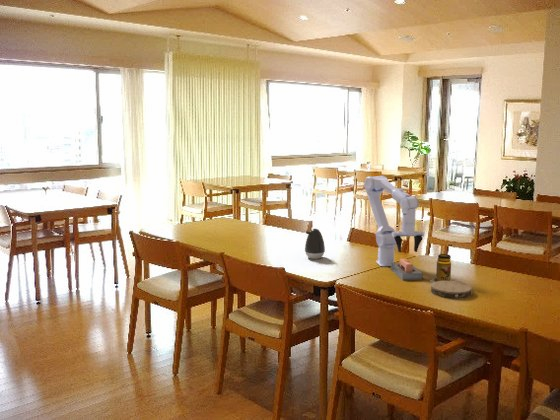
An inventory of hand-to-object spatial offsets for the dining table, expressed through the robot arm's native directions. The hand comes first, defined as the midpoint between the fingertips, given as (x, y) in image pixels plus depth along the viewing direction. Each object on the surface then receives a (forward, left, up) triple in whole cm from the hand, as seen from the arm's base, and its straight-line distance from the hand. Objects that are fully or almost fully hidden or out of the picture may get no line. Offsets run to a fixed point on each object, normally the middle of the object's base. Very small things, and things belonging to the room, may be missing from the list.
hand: (407, 251), depth 261 cm
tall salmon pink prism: (+5, -2, -9) cm, 11 cm away
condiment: (+17, +10, -10) cm, 22 cm away
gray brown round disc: (+33, +8, -10) cm, 35 cm away
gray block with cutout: (+5, -2, -9) cm, 11 cm away
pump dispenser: (-29, -39, -10) cm, 50 cm away
